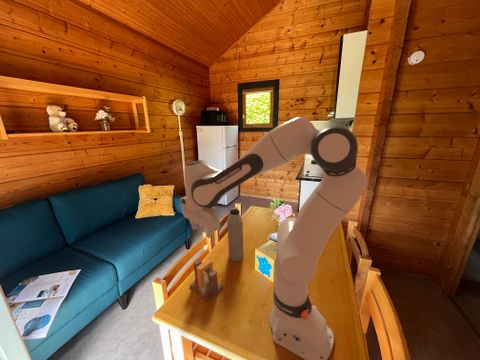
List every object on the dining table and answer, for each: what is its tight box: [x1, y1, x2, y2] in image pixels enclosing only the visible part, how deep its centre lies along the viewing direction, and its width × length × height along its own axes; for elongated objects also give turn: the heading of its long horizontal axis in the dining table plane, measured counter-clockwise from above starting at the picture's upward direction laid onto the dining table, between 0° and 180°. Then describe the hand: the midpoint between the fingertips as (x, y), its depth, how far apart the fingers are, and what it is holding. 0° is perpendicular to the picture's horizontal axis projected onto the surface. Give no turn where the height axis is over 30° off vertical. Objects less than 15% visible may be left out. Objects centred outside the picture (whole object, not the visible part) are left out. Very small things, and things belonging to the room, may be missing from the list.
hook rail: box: [189, 258, 224, 302], centre depth 89 cm, size 12×9×11 cm
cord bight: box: [196, 258, 214, 288], centre depth 89 cm, size 2×7×10 cm, turn 138°
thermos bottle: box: [227, 208, 244, 262], centre depth 106 cm, size 8×8×28 cm
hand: (201, 232), depth 82 cm, fingers open, 8 cm apart
